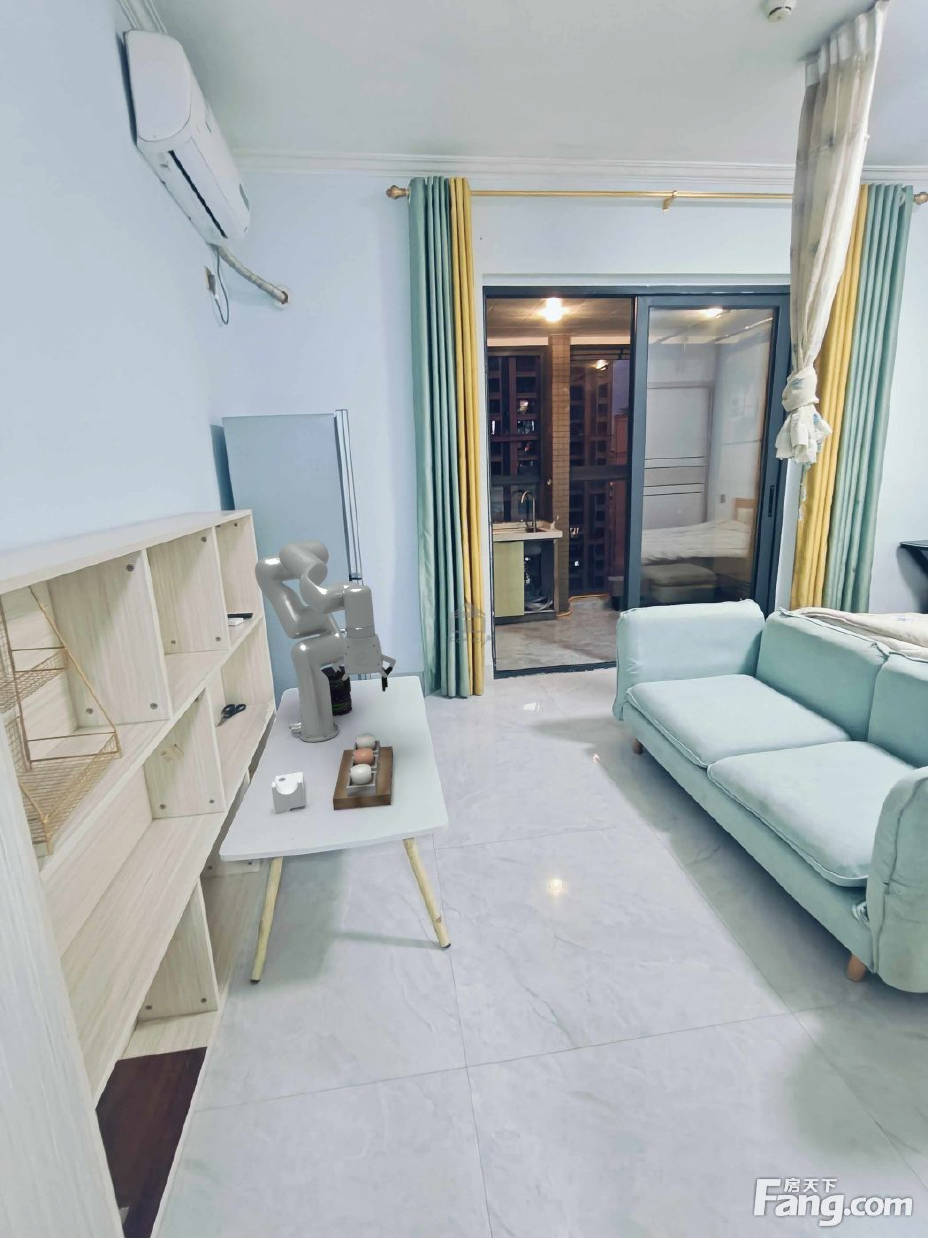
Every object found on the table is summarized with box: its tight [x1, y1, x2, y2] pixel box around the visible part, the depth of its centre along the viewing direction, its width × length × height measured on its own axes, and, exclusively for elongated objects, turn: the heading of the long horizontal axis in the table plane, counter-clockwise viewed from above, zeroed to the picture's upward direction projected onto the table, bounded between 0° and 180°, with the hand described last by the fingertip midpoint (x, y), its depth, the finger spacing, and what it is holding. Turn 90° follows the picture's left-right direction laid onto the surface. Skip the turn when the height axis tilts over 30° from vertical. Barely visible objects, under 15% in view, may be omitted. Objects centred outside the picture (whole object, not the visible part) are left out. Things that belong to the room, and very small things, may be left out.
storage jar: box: [320, 665, 353, 717], centre depth 201 cm, size 10×10×15 cm
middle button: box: [354, 748, 374, 766], centre depth 154 cm, size 5×5×3 cm
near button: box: [351, 764, 372, 785], centre depth 145 cm, size 5×5×3 cm
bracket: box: [271, 771, 306, 815], centre depth 148 cm, size 13×7×8 cm, turn 16°
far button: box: [356, 732, 376, 749], centre depth 162 cm, size 5×5×3 cm
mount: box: [332, 739, 394, 811], centre depth 155 cm, size 14×26×6 cm, turn 6°
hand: (366, 691), depth 159 cm, fingers open, 9 cm apart
